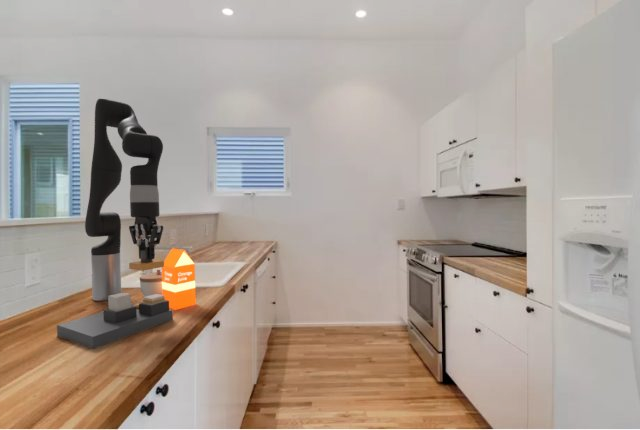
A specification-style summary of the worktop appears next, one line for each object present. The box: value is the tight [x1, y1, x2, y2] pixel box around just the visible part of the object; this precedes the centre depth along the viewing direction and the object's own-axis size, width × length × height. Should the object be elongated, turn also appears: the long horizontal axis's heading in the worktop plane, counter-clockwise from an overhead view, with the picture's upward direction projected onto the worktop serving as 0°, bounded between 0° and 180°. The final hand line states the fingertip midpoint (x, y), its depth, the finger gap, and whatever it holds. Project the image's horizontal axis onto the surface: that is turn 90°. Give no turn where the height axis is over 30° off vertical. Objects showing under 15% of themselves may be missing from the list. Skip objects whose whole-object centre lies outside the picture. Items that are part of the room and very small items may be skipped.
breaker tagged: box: [142, 294, 165, 305], centre depth 94 cm, size 4×4×4 cm
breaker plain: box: [107, 292, 132, 312], centre depth 89 cm, size 4×4×4 cm
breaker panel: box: [56, 300, 173, 350], centre depth 90 cm, size 18×22×6 cm
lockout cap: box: [128, 250, 165, 272], centre depth 93 cm, size 7×7×5 cm
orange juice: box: [161, 247, 197, 311], centre depth 110 cm, size 8×9×20 cm
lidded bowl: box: [139, 269, 162, 297], centre depth 119 cm, size 13×13×11 cm
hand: (146, 258), depth 93 cm, fingers closed on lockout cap, 3 cm apart
